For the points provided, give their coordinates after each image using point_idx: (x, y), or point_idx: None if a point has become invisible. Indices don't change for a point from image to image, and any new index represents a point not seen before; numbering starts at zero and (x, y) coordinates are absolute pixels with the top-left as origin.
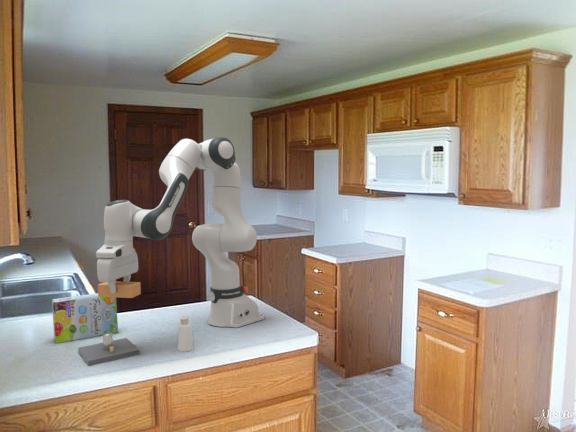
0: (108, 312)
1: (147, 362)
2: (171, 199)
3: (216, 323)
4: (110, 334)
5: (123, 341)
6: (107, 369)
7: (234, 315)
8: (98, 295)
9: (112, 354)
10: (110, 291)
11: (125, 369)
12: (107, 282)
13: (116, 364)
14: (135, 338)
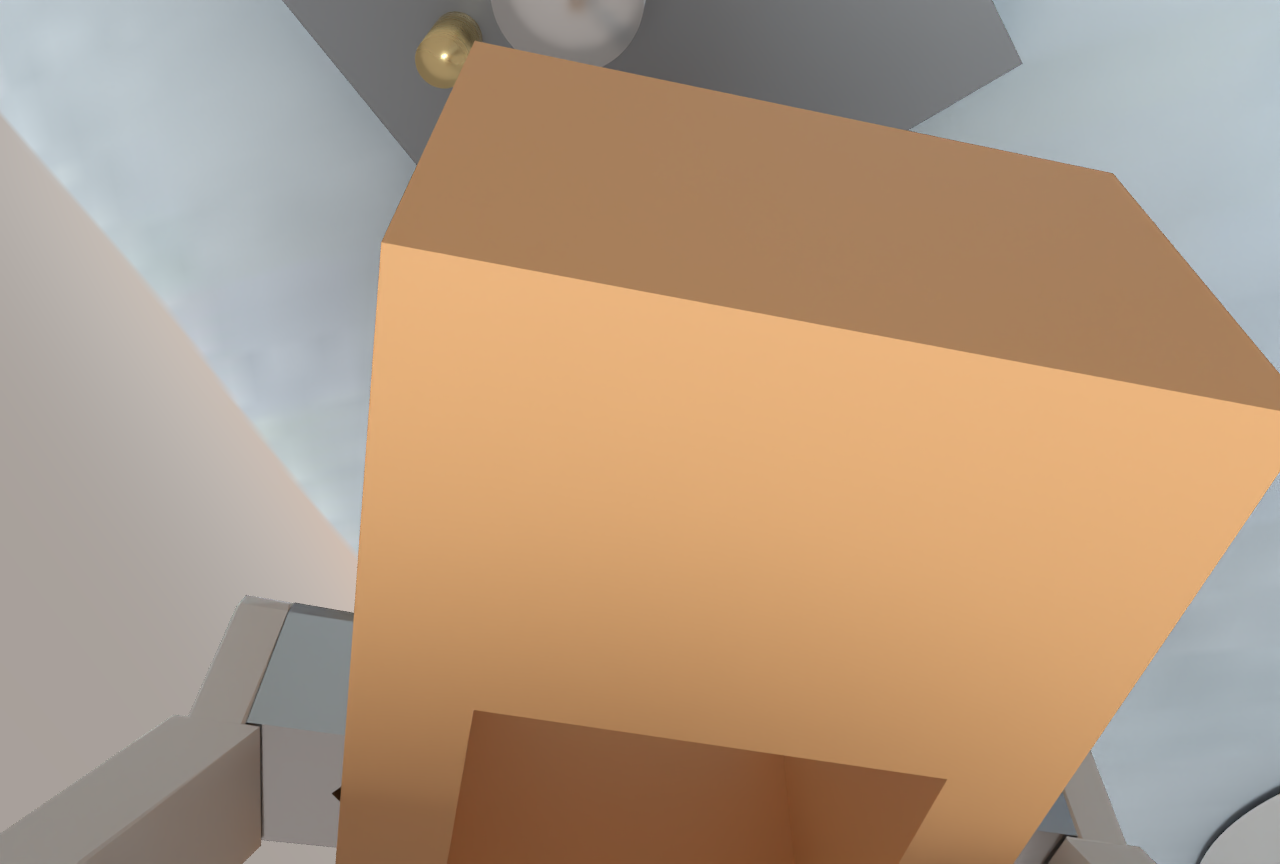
0: None
1: (349, 426)
2: None
3: (1262, 836)
4: (542, 52)
5: (865, 67)
6: (108, 92)
7: None
8: (471, 66)
9: (386, 71)
10: (230, 624)
11: (152, 276)
12: (949, 496)
13: (255, 148)
14: (1127, 128)
